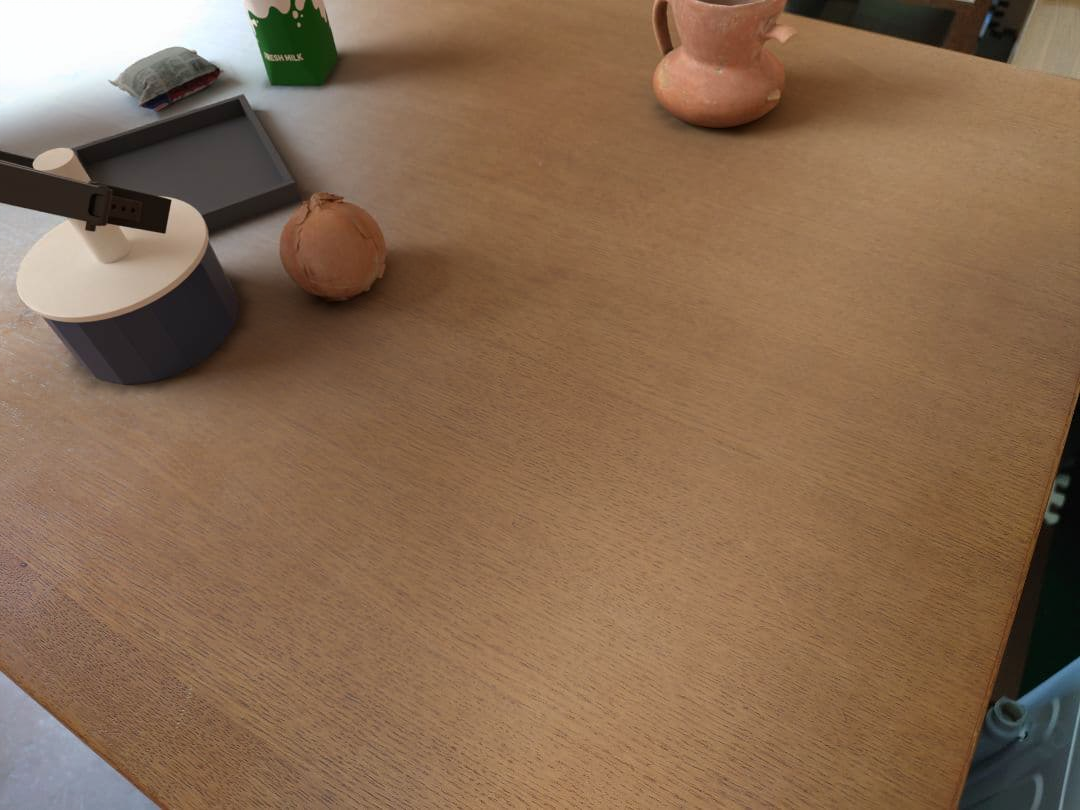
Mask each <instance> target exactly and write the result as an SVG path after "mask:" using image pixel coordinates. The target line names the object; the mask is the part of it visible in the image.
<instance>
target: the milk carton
mask: <svg viewBox="0 0 1080 810" xmlns="http://www.w3.org/2000/svg"><path fill="white" fill-rule="evenodd" d="M241 2H242V4H243V7H244V10H245V12H246V15H247V17H248V20H249V24H250V26H251V29H252V31H253V34H254V38H255V40H256V42H257V45H258V49H259V52H260V54H261V58H262V62H263V64H264V68H265V71H266V74H267V78H268V81H269V84H270V86H273V87H274V86H275V87H279V86H280V87H281V86H282V87H283V86H284V87H285V86H286V87H287V86H288V87H295V86H296V87H321V86H323V85H324V84H325V82H326V81H327V79H328V77H329V75H330V73H331V72H332V70H333V69H334V67H335V65H336V63H337V62H338V60H339V53H338V51H337V46H336V42H335V38H334V34H333V30H332V27H331V23H330V19H329V15H328V13H327V9H326V6H325V2H324V0H241Z"/></svg>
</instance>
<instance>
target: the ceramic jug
mask: <svg viewBox="0 0 1080 810" xmlns="http://www.w3.org/2000/svg"><path fill="white" fill-rule="evenodd" d="M787 1H788V0H654V2H653V8H652V14H651V15H652V16H651V21H652V29H653V34H654V37H655V40H656V44H657V46H658V49H659V53H660V56H661V60H660V62H659V63H658V65H657V66H656V68H655V71H654V73H653V78H652V89H653V93H654V96H655V98H656V100H657V101H658V103H659V104H660V105H661V107H662V108H663V109H664V110H665V111H666V112H667V113H669V114H670V115H672V117H674V118H676V119H678V120H680V121H683V122H684V123H687V124H691V125H693V126H698V127H703V128H704V127H705V128H713V129H714V128H715V129H717V128H718V129H721V128H723V129H724V128H732V127H737V126H741V125H744V124H748V123H751V122H754V121H756V120H758V119H760V118H761V117H763V116H765V115H766V114H768V113H769V112H771V111H772V110H773V109H774V108H775V107H776V106H777V105H778V104H779V101H780V99H781V97H782V96H783V94H784V91H785V88H786V72H785V68H784V67H783V65H782V63H781V61H780V60H779V58H778V57H777V56H775V54H774V53H773V52H771V51H770V50H769V49H768V48H766V47H765V46H764V44H765V43H766V42H767V41H769V40H776V41H777V42H778V43H779V44H780V45H781V46H783V47H786V46H787V45H788V44H789V42H790V41H791V40H793V39H794V38H795V37H797V36H798V32H797V30H795V29H794V27H792V26H789V25H787V24H783V23H778V24H777V21H778V19H780V17H781V15H782V13H783V11H784V9H785V6H786V4H787ZM668 4H669V5H670V6H671V10H672V16H673V19H674V22H675V26H676V30H677V33H678V37H679V39H680V41H681V44H680V45H678V46H676V47H675V48H674V46H673V43H672V42H673V41H672V39H671V32H670V28H669V21H668V19H669V18H668V14H667V13H668Z"/></svg>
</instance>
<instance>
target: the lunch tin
mask: <svg viewBox="0 0 1080 810" xmlns="http://www.w3.org/2000/svg"><path fill="white" fill-rule="evenodd" d="M239 305H240V303H239V299H238V296H237V294H236V292H235V290H234V288H233V286H232V283H231V282H230V280H229V277H228V275H227V274H226V272H225V270H224V268H223V265H222V264H221V262H220V260H219V258H218V255H217V254H216V252H215V250H214V248H213V246H212V244H211V242H210V240H209V239H208V245H207V248H206V251H205V254H204V256H203V257H202V259H201V261H200V263H199V264H198V265H197V267H196V268H195V269H194V271H193V272H192V273H191V274H190V275H189V276H188V277H187V278H186V279H185V280H184V281H183V282H181V283H180V284H179V285H178V286H177V287H175V288H174V289H173V290H171V291H170V292H168V293H167V294H165V295H164V296H162V297H160V298H159V299H157V300H155V301H153V302H152V303H150V304H148V305H146V306H144V307H141V308H139V309H136V310H134V311H132V312H129V313H126V314H123V315H120V316H116V317H112V318H108V319H103V320H97V321H91V322H62V321H56V320H52V319H48V318H45V317H43V316H41V317H42V318H43V320H44V321H45V322H46V324H47V325H48V326H49V327H50V328H51V330H52V331H53V332H54V333H55V335H56V336H57V337H58V338H59V340H60V341H61V342H62V344H63V345H64V346H65V347H66V349H67V350H68V351H69V352H70V354H71V355H72V356H73V357H74V359H75V360H76V361H77V363H79V365H80V366H81V367H83V368H84V369H85V371H87V372H88V373H89V374H90V375H92V376H93V377H94V378H96V379H97V380H101V381H104V382H107V383H110V384H118V385H140V384H141V385H143V384H148V383H154V382H158V381H161V380H164V379H168V378H171V377H173V376H175V375H179V374H180V373H182V372H185V371H187V370H189V369H191V368H192V367H194V366H196V365H197V364H199V363H201V362H202V361H204V360H205V359H206V358H208V357H209V356H210V355H211V354H213V353H214V352H215V351H216V350H217V349H218V348H219V347H220V346H221V345H222V344H223V342H224V341H226V339H227V338H228V336H230V333H231V332H232V330H233V328H234V327H235V326H236V321H237V318H238V314H239V307H240V306H239Z"/></svg>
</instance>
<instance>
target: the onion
mask: <svg viewBox="0 0 1080 810" xmlns="http://www.w3.org/2000/svg"><path fill="white" fill-rule="evenodd" d="M344 199H345V197H344V196H340V195H336V194H334V193H333V194H330V193H329V192H328V191H326V192H322V191H320V192H315V193H313V194H312V195H311V197H310V198H309V199H307V200H303V201H302V205H301V206H300V207H299V208H298V210H297V211H296V212H294V213H293V214H292V216H291V217H290V218H289V219H288V220H287V222H286V224H285V225H284V226H283V229H282V231H281V233H280V237H279V257H280V261H281V264H282V266H283V268H284V271H285V272H286V273H287V275H288V276H289V277H290V279H291V280H292V281H293V282H294V283H295V284H296V285H297V286H298V287H300V288H301V289H303V290H304V291H306V292H307V293H310V294H312V295H315V296H318V297H320V298H321V299H323V300H324V301H327V302H343V301H344V302H345V301H348V300H350V299H353V298H356V297H359V296H360V295H361V294H362V293H363V292H368V291H370V289H371V287H372V285H373V283H374V282H375V281H376V279H377V280H378V279H382V278H383V275H384V273H385V269H386V266H387V264H385V262H386V257H387V256H386V253H387V245H386V239H385V237H384V234H383V231H382V229H381V227H380V226H379V224H378V222H377V221H376V220H375V218H374V217H373V216H372V215H371V214H370V213H369V212H368V211H366V209H364V208H362V207H361V206H359V205H357V204H355V203H351V202H347V201H343V200H344Z"/></svg>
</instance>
